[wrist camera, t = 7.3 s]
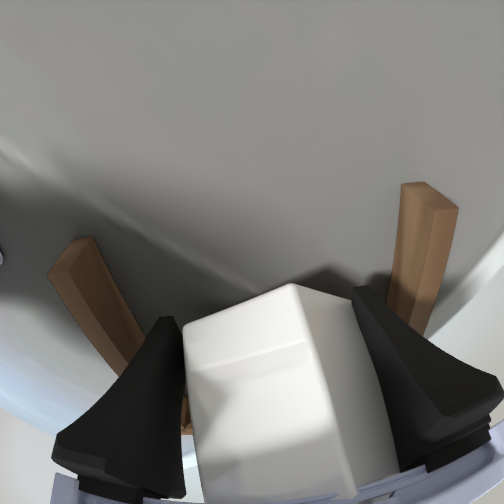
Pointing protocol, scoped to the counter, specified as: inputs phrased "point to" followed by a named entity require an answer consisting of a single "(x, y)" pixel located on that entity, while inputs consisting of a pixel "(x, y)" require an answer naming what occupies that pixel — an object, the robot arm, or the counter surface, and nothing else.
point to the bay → (399, 300)
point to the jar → (285, 400)
